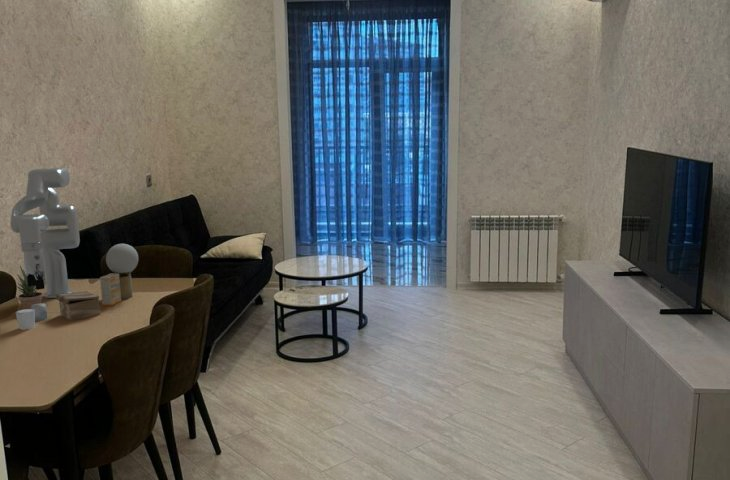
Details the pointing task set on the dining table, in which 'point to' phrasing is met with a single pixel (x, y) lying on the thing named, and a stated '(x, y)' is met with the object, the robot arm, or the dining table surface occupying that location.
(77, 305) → the box
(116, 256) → the lamp
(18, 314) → the white cylinder
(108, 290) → the supplement box
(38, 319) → the tape roll
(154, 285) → the dining table surface
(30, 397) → the dining table surface
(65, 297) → the lid
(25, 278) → the potted plant
